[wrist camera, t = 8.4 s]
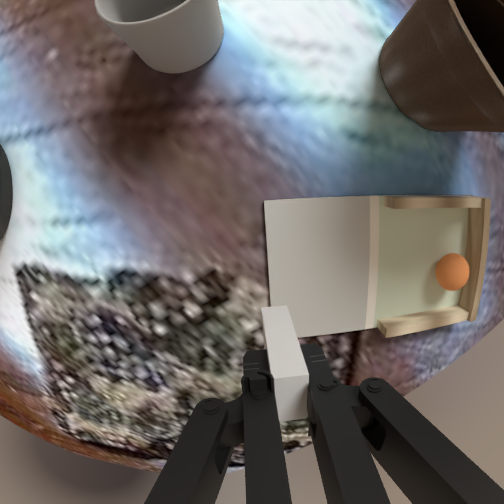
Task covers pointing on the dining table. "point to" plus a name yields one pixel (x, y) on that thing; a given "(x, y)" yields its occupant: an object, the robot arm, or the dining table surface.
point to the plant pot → (448, 65)
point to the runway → (357, 260)
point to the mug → (166, 30)
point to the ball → (452, 271)
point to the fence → (474, 258)
